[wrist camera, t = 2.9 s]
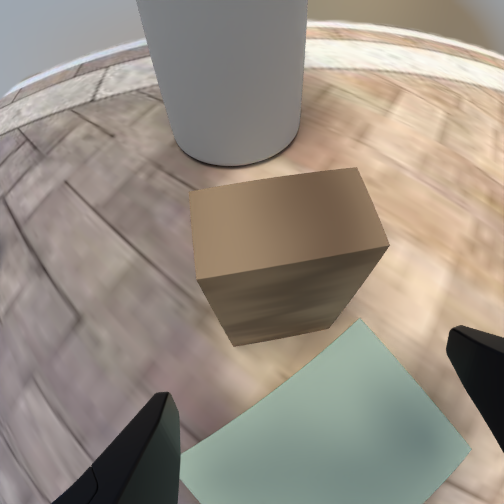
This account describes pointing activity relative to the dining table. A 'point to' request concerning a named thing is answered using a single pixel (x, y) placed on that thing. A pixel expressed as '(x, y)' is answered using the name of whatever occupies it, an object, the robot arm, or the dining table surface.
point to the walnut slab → (284, 251)
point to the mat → (331, 436)
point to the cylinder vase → (229, 74)
